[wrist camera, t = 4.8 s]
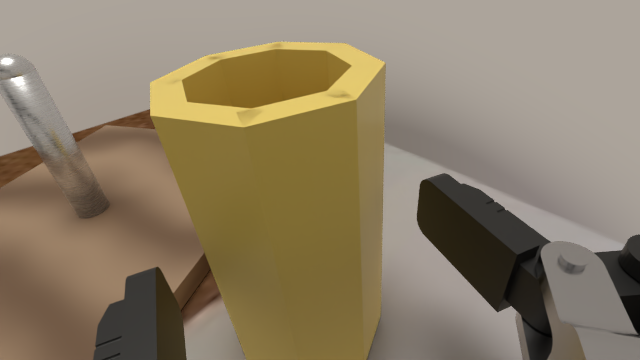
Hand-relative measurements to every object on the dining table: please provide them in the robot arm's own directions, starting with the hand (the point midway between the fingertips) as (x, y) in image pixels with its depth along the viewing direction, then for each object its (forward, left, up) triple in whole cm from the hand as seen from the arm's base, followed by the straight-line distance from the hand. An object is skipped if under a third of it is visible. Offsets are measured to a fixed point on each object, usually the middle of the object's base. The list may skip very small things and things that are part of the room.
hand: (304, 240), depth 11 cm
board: (+4, +16, -7) cm, 18 cm away
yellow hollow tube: (+1, +1, -6) cm, 7 cm away
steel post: (+4, +16, -7) cm, 18 cm away
